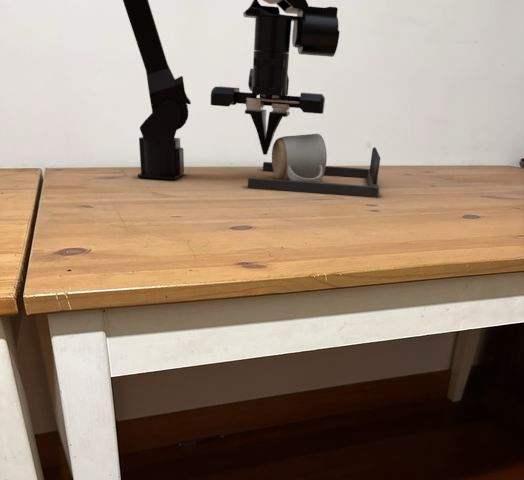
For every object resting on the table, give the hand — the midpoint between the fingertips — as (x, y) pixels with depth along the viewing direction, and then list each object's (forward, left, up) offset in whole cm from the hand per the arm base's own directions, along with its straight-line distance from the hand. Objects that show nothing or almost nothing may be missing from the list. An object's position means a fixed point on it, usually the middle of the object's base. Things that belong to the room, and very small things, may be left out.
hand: (265, 154), depth 92 cm
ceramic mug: (+7, 0, -4) cm, 8 cm away
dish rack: (+9, 0, -4) cm, 10 cm away
